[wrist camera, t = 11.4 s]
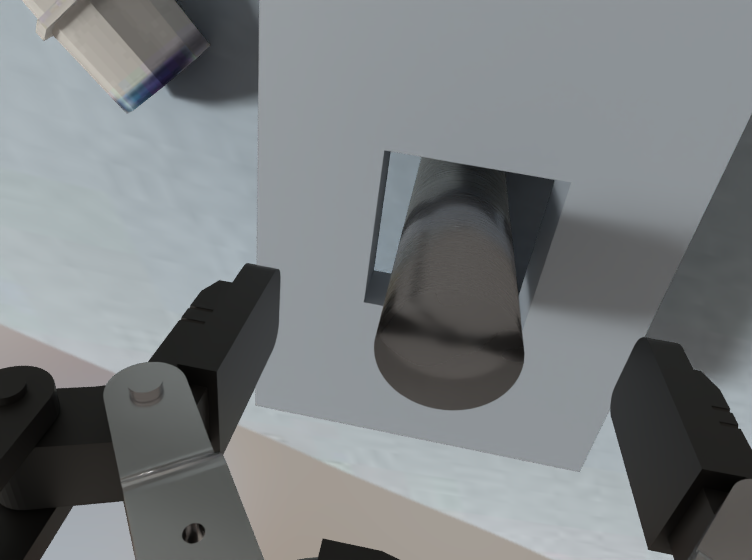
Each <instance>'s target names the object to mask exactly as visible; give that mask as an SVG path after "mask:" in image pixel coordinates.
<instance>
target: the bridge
mask: <svg viewBox="0 0 752 560" xmlns="http://www.w3.org/2000/svg"><path fill="white" fill-rule="evenodd" d="M751 114H752V0H259V76H258V179H257V265H260V266H265V267H271V268H276V269H279V270H280V275H281V282H280V310H279V328H278V334H277V339H276V343H275V346H274V349H273V351H272V353H271V355H270V357H269V359H268V361H267V364H266V366H265V368H264V370H263V372H262V374H261V376H260V378H259V380H258V382H257V385H256V387H255V405H256V406H261V407H266V408H270V409H275V410H280V411H285V412H290V413H295V414H300V415H304V416H309V417H314V418H319V419H324V420H329V421H334V422H339V423H343V424H348V425H353V426H358V427H363V428H368V429H373V430H377V431H382V432H387V433H392V434H397V435H402V436H407V437H412V438H416V439H421V440H426V441H431V442H436V443H441V444H446V445H450V446H455V447H460V448H465V449H470V450H475V451H480V452H485V453H489V454H494V455H499V456H504V457H509V458H514V459H519V460H524V461H528V462H533V463H538V464H543V465H548V466H553V467H558V468H562V469H567V470H572V471H577V472H580V471H581V469H582V466H583V464H584V462H585V460H586V458H587V456H588V454H589V452H590V450H591V448H592V446H593V444H594V441H595V439H596V437H597V435H598V433H599V431H600V429H601V427H602V425H603V423H604V421H605V419H606V416H607V414H608V412H609V410H610V404H611V397H612V393H613V390H614V387H615V385H616V383H617V381H618V379H619V377H620V374H621V372H622V370H623V368H624V366H625V364H626V362H627V360H628V358H629V356H630V354H631V351H632V349H633V347H634V345H635V343H636V342H637V341H638V340H639V339H640V338H642V337H645V335H646V333H647V331H648V329H649V327H650V325H651V323H652V321H653V319H654V316H655V314H656V312H657V310H658V308H659V306H660V304H661V302H662V300H663V298H664V296H665V294H666V291H667V289H668V287H669V285H670V283H671V281H672V279H673V277H674V275H675V273H676V271H677V269H678V266H679V264H680V262H681V260H682V258H683V256H684V254H685V252H686V250H687V248H688V246H689V244H690V241H691V239H692V237H693V235H694V233H695V231H696V229H697V227H698V225H699V223H700V221H701V219H702V216H703V214H704V212H705V210H706V208H707V206H708V204H709V202H710V200H711V198H712V196H713V194H714V191H715V189H716V187H717V185H718V183H719V181H720V179H721V177H722V175H723V173H724V171H725V169H726V166H727V164H728V162H729V160H730V158H731V156H732V154H733V152H734V150H735V148H736V146H737V144H738V142H739V139H740V137H741V135H742V133H743V131H744V129H745V127H746V125H747V123H748V121H749V119H750V117H751ZM390 152H397V153H403V154H408V155H414V156H420V157H426V158H432V159H437V160H443V161H449V162H455V163H461V164H466V165H472V166H478V167H484V168H490V169H495V170H501V171H507V172H513V173H519V174H524V175H530V176H536V177H542V178H548V179H553V180H555V181H554V185H553V188H552V191H551V194H550V197H549V201H548V204H547V207H546V210H545V213H544V217H543V220H542V223H541V226H540V229H539V233H538V236H537V239H536V242H535V245H534V249H533V252H532V255H531V258H530V261H529V265H528V268H527V271H526V274H525V277H524V281H523V284H522V287H521V290H520V293H519V307H520V316H521V325H522V334H523V344H524V354H525V355H524V364H523V368H522V371H521V373H520V376H519V378H518V379H517V381H516V382H515V384H514V385H513V386H512V387H511V388H510V389H509V390H508V391H507V392H506V393H505V394H504V395H502V396H501V397H499V398H498V399H496V400H495V401H492V402H490V403H488V404H486V405H483V406H480V407H477V408H472V409H466V410H453V411H452V410H440V409H434V408H430V407H426V406H423V405H420V404H418V403H415V402H413V401H411V400H409V399H407V398H406V397H404V396H402V395H401V394H400V393H398V392H397V391H396V390H394V389H393V388H392V387H391V386H390V385H389V384H388V382H387V381H386V380H385V379H384V377H383V376H382V374H381V372H380V371H379V368H378V366H377V364H376V360H375V356H374V341H375V336H376V332H377V328H378V325H379V321H380V317H381V313H382V309H383V305H384V301H385V297H386V293H387V289H388V286H389V282H390V278H391V274H390V273H385V272H379V271H374V265H375V258H376V251H377V244H378V237H379V230H380V223H381V216H382V208H383V201H384V194H385V187H386V180H387V173H388V166H389V159H390Z"/></svg>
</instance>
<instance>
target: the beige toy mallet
mask: <svg viewBox="0 0 752 560" xmlns="http://www.w3.org/2000/svg"><path fill="white" fill-rule="evenodd" d="M22 1H23V2H24V3H25V4H26V6H27V7H28V8H29V9H30V10H31V11H32V12H33V14H34V15H35V16H36V17H37V18H38V20H37V26H36V33H37V34H38V35H39V36H40V37H41V38H42V39H43V40H44V41H45V40H46V39H48V38H50V37H52V36H54V37H55V38H56V39H57V40H58V41H59V42H60V43H61V44H62V45H63V46H64V47H65V49H66V50H67V51H68V52H69V53H70V54H71V55H72V56H73V57H74V58H75V59H76V60H77V61H78V62H79V63H80V64H81V66H82V67H83V68H84V69H85V70H86V71H87V72H88V73H89V74H90V75H91V76H92V77H93V78H94V79H95V80H96V81H97V83H98V84H99V85H100V86H101V87H102V88H103V89H104V90H105V91H106V92H107V93H108V94H109V95H110V96H111V97H112V99H113V100H114V101H115V102H116V103H117V104H118V105H119V106H120V107H121V108H122V109H123V110H124V111H125V112H126V113H129V112H131V111H133V110H134V109H136V108H137V107H138V106H139V105H141V104H142V103H143V102H145V101H146V100H147V99H148V98H150V97H151V96H152V95H153V94H155V93H156V92H157V91H158V90H160V89H161V88H162V87H163V86H165V85H166V84H167V83H168V82H169V81H171V80H172V79H173V78H174V77H175V76H176V75H178V74H179V73H180V72H181V71H182V70H184V69H185V68H186V67H187V66H188V65H190V64H191V63H192V62H193V61H194V60H195V59H197V58H198V57H199V56H200V55H201V54H202V53H203V52H204V51H205V50H206V49H207V48H208V47H209V46H210V44H209V43H208V42H207V40H206V39H205V38H204V37H203V35H202V34H201V33H200V32H199V30H198V29H197V28H196V27H195V25H194V24H193V23H192V22H191V20H190V19H189V18H188V17H187V15H186V14H185V13H184V12H183V10H182V9H181V8H180V7H179V5H178V4H177V3H176V2H175V0H22Z"/></svg>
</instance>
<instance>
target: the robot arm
mask: <svg viewBox="0 0 752 560" xmlns="http://www.w3.org/2000/svg"><path fill="white" fill-rule="evenodd" d="M280 282H281V275H280V270H279V269H276V268H271V267H265V266H260V265H255V264H249V263H246V264H245V265H244V266H243V268H242V269H241V271H240V272H239V274H238V275H237V277H236V278H235V280H234V281H233V282H226V281H221V280H219V281H217V282H216V283H214V284H212V285H211V286H209V287H207V288H206V289H204V290H202V291H201V292H200V293H199V295H198V296H197V297H196V299H195V300H194V301H193V303H192V304H191V305H190V308H188V309H187V311H186V312H185V313H184V315H183V316H182V319H181V320H179V321H178V323H177V324H176V325H175V327H174V328H173V329H172V331H171V332H170V333H169V335H168V336H167V337H166V339H165V340H164V341H163V343H162V344H161V345H160V347H159V348H158V349H157V351H156V352H155V353H154V355H153V356H152V357H151V359H150V360H149V361H148V362H145V363H139V364H136V365H132V366H130V367H127V368H125V369H123V370H121V371H120V372H118V373H117V374H115V375H114V376H113V377H112V378H111V379H110V380H109V381H108V383H107V384H106V385H105V386H97V387H81V388H80V387H79V388H58V389H56V386H55V383H54V380H53V377H52V376H51V375H50V374H49V373H48V372H47V371H45V370H43V369H41V368H38V367H33V366H14V367H8V368H3V369H0V560H40V559H41V557H42V556H43V554H44V552H45V551H46V549H47V548H48V546H49V544H50V543H51V541H52V540H53V538H54V536H55V535H56V533H57V531H58V530H59V528H60V526H61V525H62V523H63V522H64V520H65V518H66V517H67V515H68V514H69V512H70V510H71V509H72V507H73V506H76V505H87V504H97V503H107V502H119V501H123V502H124V507H125V512H126V516H127V521H128V526H129V531H130V536H131V541H132V546H133V551H134V555H135V560H264V558H263V555H262V553H261V550H260V548H259V545H258V543H257V540H256V537H255V535H254V532H253V530H252V527H251V525H250V522H249V519H248V517H247V514H246V512H245V509H244V507H243V504H242V502H241V499H240V496H239V494H238V491H237V489H236V486H235V484H234V481H233V478H232V476H231V473H230V471H229V468H228V466H227V463H226V461H225V458H224V456H223V454H224V451H225V450H226V448H227V445H228V443H229V441H230V439H231V437H232V435H233V433H234V431H235V429H236V427H237V424H238V422H239V420H240V418H241V416H242V414H243V412H244V410H245V408H246V406H247V403H248V401H249V399H250V397H251V395H252V393H253V391H254V389H255V387H256V385H257V382H258V380H259V378H260V376H261V374H262V372H263V370H264V368H265V366H266V364H267V361H268V359H269V357H270V355H271V353H272V351H273V349H274V346H275V343H276V339H277V334H278V328H279V310H280ZM610 412H611V418H612V421H613V425H614V429H615V432H616V436H617V439H618V443H619V447H620V450H621V454H622V457H623V461H624V464H625V468H626V472H627V475H628V479H629V482H630V486H631V489H632V493H633V497H634V500H635V504H636V507H637V511H638V514H639V518H640V522H641V525H642V529H643V532H644V536H645V540H646V543H647V547H648V550H651V551H656V552H661V553H666V554H671V555H673V557H674V560H752V449H751V447H750V446H749V444H748V442H747V440H746V438H745V436H744V434H743V432H742V431H741V429H738V423H737V421H736V419H735V417H734V415H733V414H732V413H730V408H729V406H728V404H727V402H726V400H725V398H724V397H723V395H722V393H721V391H720V389H719V388H718V387H717V386H716V385H715V384H713V383H712V382H711V381H710V380H709V379H708V378H707V377H706V376H705V375H704V374H703V373H702V372H701V371H697V370H693V368H692V366H691V364H690V362H689V360H688V358H687V356H686V354H685V352H684V350H683V348H682V346H681V345H680V344H678V343H672V342H667V341H662V340H656V339H651V338H645V337H642V338H640V339H639V340H638V341H637V342H636V343H635V345H634V347H633V349H632V351H631V354H630V356H629V358H628V360H627V362H626V364H625V366H624V368H623V370H622V372H621V374H620V377H619V379H618V381H617V383H616V385H615V387H614V390H613V393H612V397H611V404H610ZM299 560H399V559H397V558H395V557H393V556H391V555H389V554H387V553H385V552H383V551H379V550H374V549H369V548H365V547H360V546H355V545H351V544H346V543H341V542H336V541H332V540H327V539H323V540H322V544H321V548H320V552H319V556H318V557H316V558H305V559H299Z"/></svg>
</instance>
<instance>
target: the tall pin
mask: <svg viewBox="0 0 752 560" xmlns="http://www.w3.org/2000/svg"><path fill="white" fill-rule="evenodd" d="M524 355H525V354H524V344H523V334H522V325H521V316H520V307H519V297H518V288H517V279H516V269H515V260H514V251H513V242H512V232H511V223H510V214H509V204H508V195H507V186H506V176H505V171H501V170H495V169H490V168H484V167H478V166H472V165H466V164H461V163H455V162H449V161H443V160H437V159H432V158H426V157H421V161H420V165H419V169H418V173H417V176H416V180H415V184H414V188H413V192H412V196H411V200H410V204H409V208H408V212H407V215H406V219H405V223H404V227H403V231H402V235H401V239H400V243H399V247H398V251H397V254H396V258H395V262H394V266H393V270H392V274H391V278H390V282H389V286H388V289H387V293H386V297H385V301H384V305H383V309H382V313H381V317H380V321H379V325H378V328H377V332H376V336H375V341H374V356H375V360H376V364H377V366H378V368H379V371H380V372H381V374H382V376H383V377H384V379H385V380H386V381H387V382H388V384H389V385H390V386H391V387H392V388H393V389H394V390H396V391H397V392H398V393H400V394H401V395H402V396H404V397H406V398H407V399H409V400H411V401H413V402H415V403H418V404H420V405H423V406H426V407H430V408H434V409H440V410H452V411H453V410H466V409H472V408H477V407H480V406H483V405H486V404H488V403H490V402H492V401H495V400H496V399H498V398H499V397H501V396H502V395H504V394H505V393H506V392H507V391H508V390H509V389H510V388H511V387H512V386H513V385H514V384H515V382H516V381H517V379H518V378H519V376H520V373H521V371H522V368H523V364H524Z"/></svg>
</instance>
